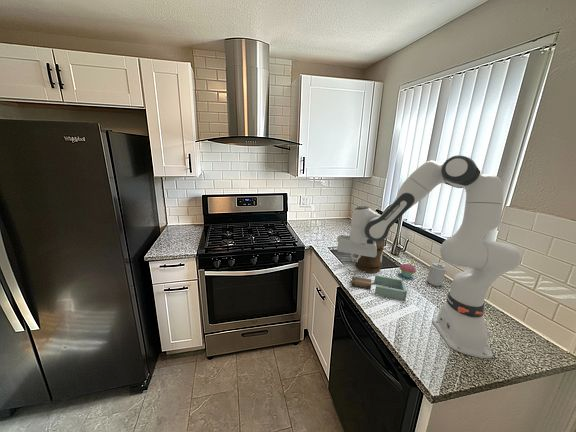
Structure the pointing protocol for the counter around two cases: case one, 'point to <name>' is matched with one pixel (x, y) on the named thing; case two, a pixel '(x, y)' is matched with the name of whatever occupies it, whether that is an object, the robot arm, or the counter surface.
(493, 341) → the counter surface
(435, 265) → the grey lidded jar
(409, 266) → the cupcake
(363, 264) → the wooden container
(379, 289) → the tray
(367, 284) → the brown block
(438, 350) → the counter surface
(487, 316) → the counter surface
